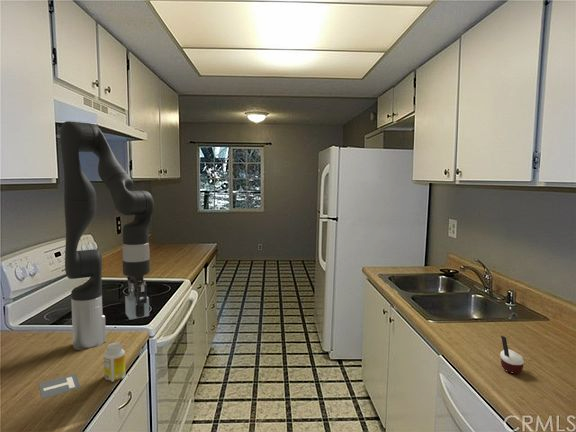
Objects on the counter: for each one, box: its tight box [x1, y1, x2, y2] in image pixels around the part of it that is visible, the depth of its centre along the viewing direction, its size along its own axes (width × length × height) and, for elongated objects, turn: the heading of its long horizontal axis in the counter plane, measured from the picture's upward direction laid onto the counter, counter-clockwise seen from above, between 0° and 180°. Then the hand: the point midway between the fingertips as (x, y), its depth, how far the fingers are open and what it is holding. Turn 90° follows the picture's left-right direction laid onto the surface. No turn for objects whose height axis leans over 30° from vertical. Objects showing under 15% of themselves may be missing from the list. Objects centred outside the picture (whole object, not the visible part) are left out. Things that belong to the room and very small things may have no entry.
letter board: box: [38, 373, 82, 400], centre depth 104 cm, size 9×9×1 cm
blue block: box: [124, 295, 150, 320], centre depth 113 cm, size 6×6×6 cm
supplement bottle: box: [103, 342, 127, 382], centre depth 109 cm, size 6×6×10 cm
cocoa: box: [500, 335, 525, 374], centre depth 119 cm, size 10×6×12 cm, turn 89°
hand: (137, 313), depth 113 cm, fingers closed on blue block, 5 cm apart
